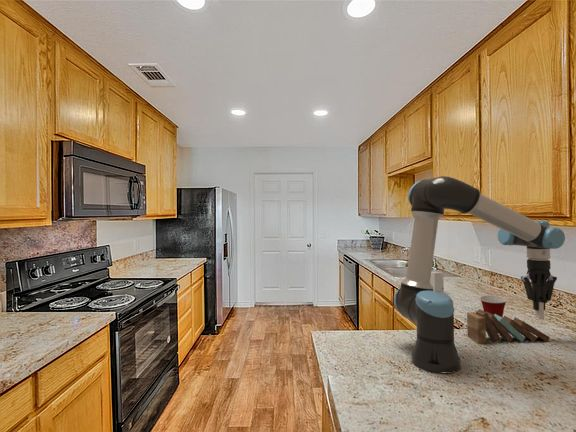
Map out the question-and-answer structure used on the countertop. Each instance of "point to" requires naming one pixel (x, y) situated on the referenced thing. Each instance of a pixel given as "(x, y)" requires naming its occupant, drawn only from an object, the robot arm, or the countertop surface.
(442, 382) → the countertop surface
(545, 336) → the domino
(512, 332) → the domino
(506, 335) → the domino
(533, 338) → the domino
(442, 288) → the skincare box
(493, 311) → the plastic cup
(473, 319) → the block
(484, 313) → the domino
